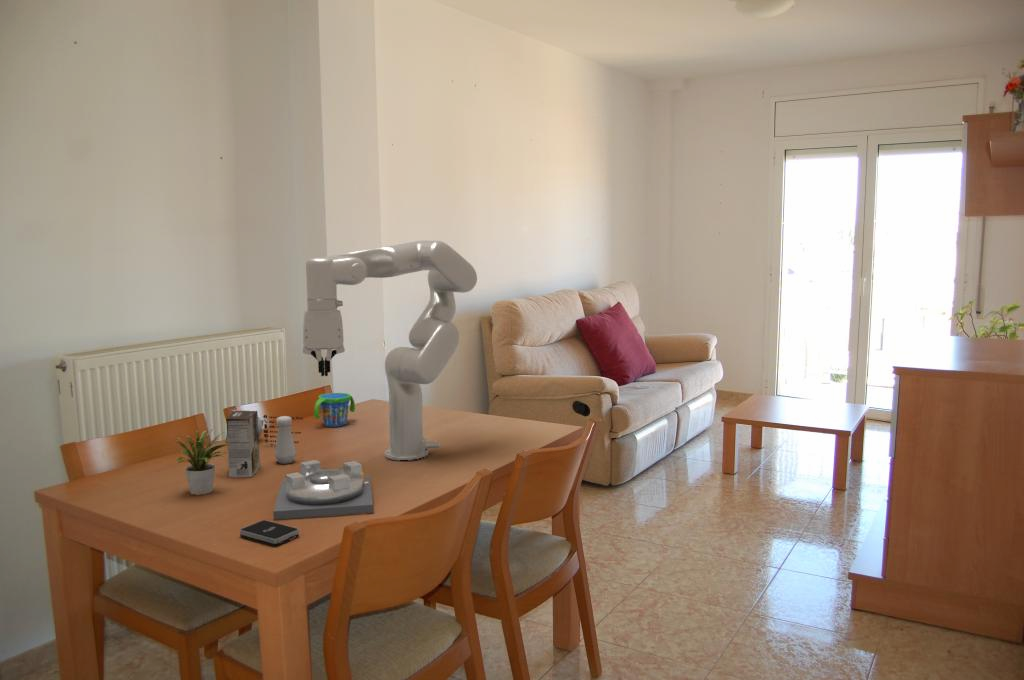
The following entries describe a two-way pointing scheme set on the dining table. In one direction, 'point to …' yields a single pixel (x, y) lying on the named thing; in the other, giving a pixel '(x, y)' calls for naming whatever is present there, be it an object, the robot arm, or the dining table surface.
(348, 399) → the snack cup
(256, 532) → the external hard drive
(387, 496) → the dining table surface
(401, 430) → the robot arm
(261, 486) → the dining table surface
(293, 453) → the salt shaker
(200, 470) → the house plant
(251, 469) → the coffee box
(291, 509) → the housing plate
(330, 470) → the domed turntable base
